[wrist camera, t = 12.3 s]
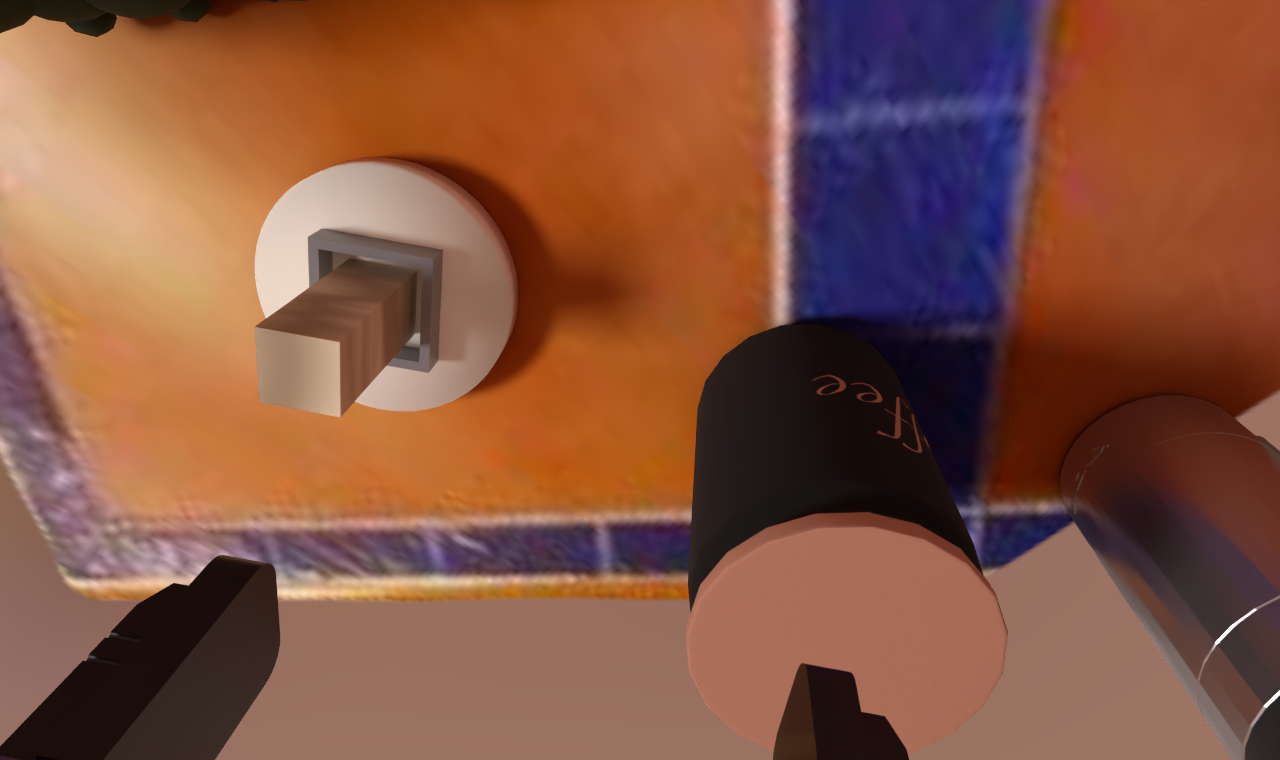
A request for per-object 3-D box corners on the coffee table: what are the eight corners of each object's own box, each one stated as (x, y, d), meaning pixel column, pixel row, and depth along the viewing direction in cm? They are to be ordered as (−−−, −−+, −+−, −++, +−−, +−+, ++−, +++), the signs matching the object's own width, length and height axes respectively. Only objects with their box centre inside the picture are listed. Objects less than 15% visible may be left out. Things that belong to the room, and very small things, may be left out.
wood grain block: (417, 270, 40) (339, 342, 32) (415, 333, 41) (340, 417, 33) (349, 258, 40) (254, 326, 32) (349, 321, 41) (259, 402, 33)
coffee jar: (933, 440, 43) (1059, 707, 27) (757, 518, 47) (777, 799, 30) (843, 276, 40) (927, 471, 24) (660, 374, 43) (625, 604, 27)
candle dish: (529, 181, 39) (512, 198, 36) (508, 412, 45) (492, 444, 42) (268, 135, 39) (229, 148, 36) (280, 372, 45) (247, 400, 42)
